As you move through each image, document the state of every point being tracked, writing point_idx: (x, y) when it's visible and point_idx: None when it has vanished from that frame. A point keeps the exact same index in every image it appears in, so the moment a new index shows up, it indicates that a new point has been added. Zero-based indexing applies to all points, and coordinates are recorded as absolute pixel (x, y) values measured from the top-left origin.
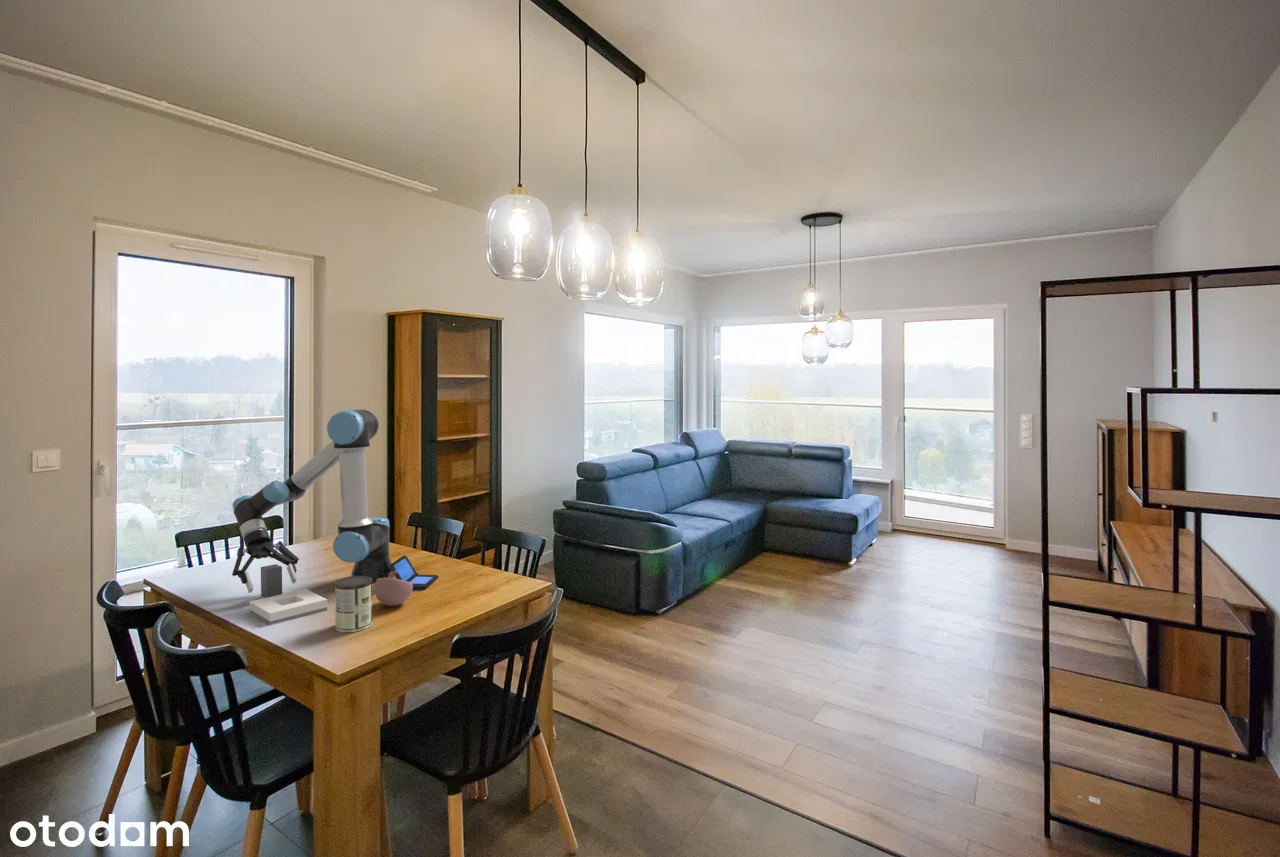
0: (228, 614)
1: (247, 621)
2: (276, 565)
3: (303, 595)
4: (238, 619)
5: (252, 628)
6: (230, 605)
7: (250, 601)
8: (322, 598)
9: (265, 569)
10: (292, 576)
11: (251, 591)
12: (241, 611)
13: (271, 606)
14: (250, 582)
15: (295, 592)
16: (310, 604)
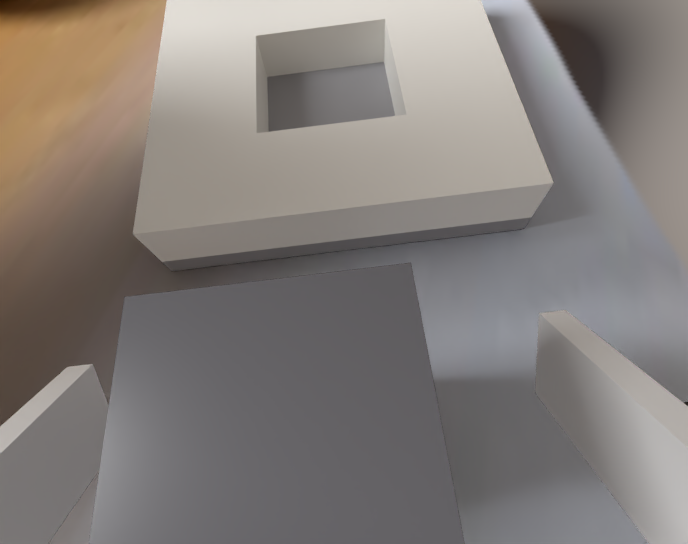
0: (654, 272)
1: (542, 101)
2: (134, 501)
3: (219, 107)
4: (587, 151)
5: (526, 17)
6: None
7: (546, 181)
8: (176, 14)
9: (419, 312)
10: (65, 432)
11: (537, 377)
12: (571, 280)
13: (436, 32)
14: (598, 354)
15: (224, 194)
16: None
